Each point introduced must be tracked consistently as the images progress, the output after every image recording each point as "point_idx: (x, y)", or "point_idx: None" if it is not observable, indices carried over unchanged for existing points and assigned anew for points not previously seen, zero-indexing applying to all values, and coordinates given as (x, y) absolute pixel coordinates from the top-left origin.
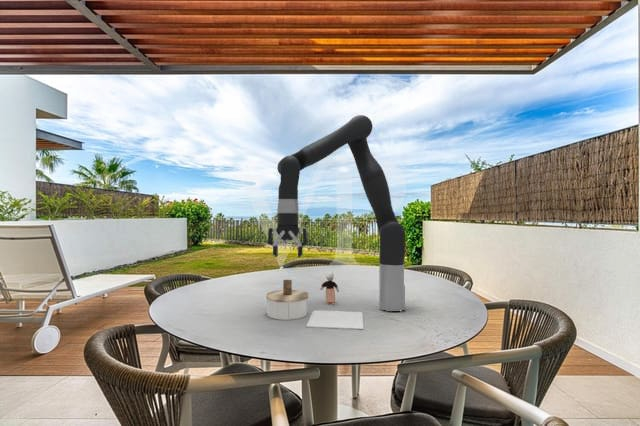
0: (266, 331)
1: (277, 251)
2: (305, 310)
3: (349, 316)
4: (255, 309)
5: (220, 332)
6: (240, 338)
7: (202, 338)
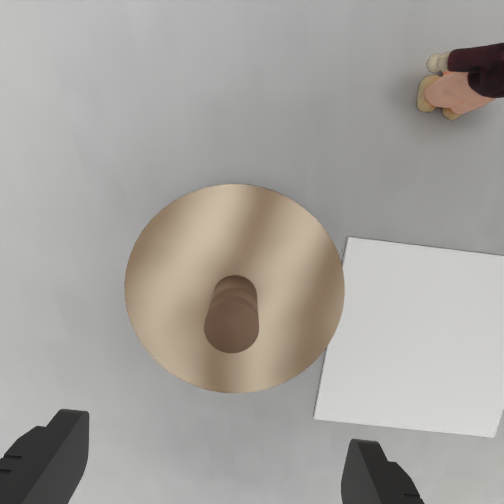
0: (191, 448)
1: (55, 471)
2: None
3: (482, 319)
4: (89, 203)
5: None
6: (129, 497)
7: None
